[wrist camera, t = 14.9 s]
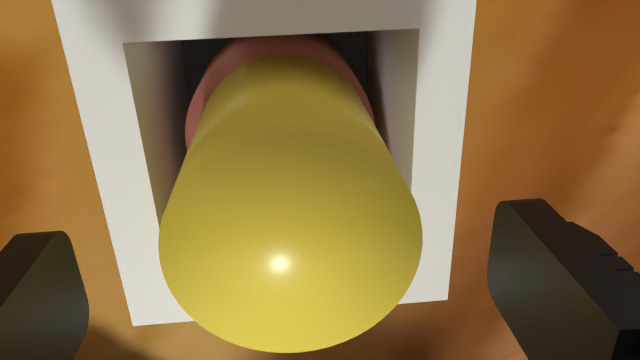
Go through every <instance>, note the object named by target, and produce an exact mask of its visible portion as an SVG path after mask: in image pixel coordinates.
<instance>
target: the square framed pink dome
mask: <svg viewBox="0 0 640 360" xmlns="http://www.w3.org/2000/svg"><path fill="white" fill-rule="evenodd" d="M476 1H477V0H52V4H53V8H54V12H55V16H56V20H57V24H58V28H59V32H60V36H61V40H62V44H63V48H64V52H65V56H66V60H67V64H68V68H69V72H70V76H71V80H72V84H73V88H74V92H75V96H76V100H77V104H78V108H79V112H80V116H81V120H82V124H83V128H84V132H85V136H86V140H87V144H88V148H89V152H90V156H91V160H92V164H93V168H94V172H95V176H96V180H97V184H98V188H99V192H100V196H101V200H102V204H103V208H104V212H105V216H106V220H107V224H108V228H109V232H110V236H111V240H112V244H113V248H114V252H115V256H116V260H117V264H118V268H119V272H120V276H121V280H122V284H123V288H124V292H125V296H126V300H127V304H128V308H129V312H130V316H131V320H132V324H133V326H138V325H150V324H162V323H174V322H186V321H194V320H193V319H192V318H191V317H190V316H189V315H188V314H187V313H186V312H185V311H184V310H183V309H182V307H181V306H180V305H179V304H178V303H177V301H176V299H175V298H174V296H173V295H172V293H171V292H170V290H169V288H168V285H167V283H166V281H165V279H164V276H163V273H162V269H161V266H160V260H159V252H158V241H159V230H160V225H161V220H162V217H163V214H164V212H165V209H166V206H167V203H168V201H169V198H170V196H171V193H172V190H173V188H174V185H175V183H176V180H177V177H178V175H179V172H180V170H181V167H182V164H183V162H184V159H185V156H186V154H187V149H186V142H185V122H186V117H187V112H188V109H189V106H190V103H191V100H192V98H193V96H194V94H195V92H196V89H197V87H198V85H199V83H200V81H201V79H202V77H203V75H204V73H205V71H206V69H207V66H208V64H209V63H210V61H211V59H212V57H213V55H214V54H215V53H216V51H217V50H218V49H219V47H220V46H221V45H222V44H223V43H224V42H225V41H226V40H228V39H229V38H232V37H252V36H273V35H293V34H314V33H320V34H322V35H324V36H325V37H326V38H327V39H329V40H330V41H331V42H332V43H333V44H334V45H335V46H336V47H337V48H338V49H339V51H340V52H341V53H342V55H343V56H344V58H345V59H346V61H347V63H348V64H349V66H350V68H351V70H352V71H353V73H354V75H355V76H356V78H357V80H358V81H359V83H360V85H361V87H362V88H363V90H364V92H365V94H366V96H367V98H368V100H369V103H370V106H371V109H372V112H373V117H374V122H375V127H376V129H377V130H378V132H379V134H380V136H381V138H382V140H383V141H384V143H385V145H386V147H387V149H388V151H389V153H390V154H391V156H392V158H393V160H394V162H395V164H396V166H397V167H398V169H399V171H400V173H401V175H402V177H403V178H404V180H405V182H406V184H407V186H408V188H409V190H410V192H411V194H412V196H413V197H414V199H415V201H416V204H417V207H418V210H419V213H420V218H421V224H422V232H423V245H422V252H421V259H420V262H419V265H418V269H417V272H416V274H415V276H414V279H413V281H412V283H411V285H410V287H409V288H408V290H407V291H406V293H405V295H404V296H403V298H402V299H401V300H400V301H399V303H398V304H403V303H415V302H427V301H439V300H447V299H448V289H449V278H450V268H451V258H452V247H453V237H454V227H455V217H456V206H457V196H458V186H459V175H460V165H461V155H462V145H463V134H464V124H465V114H466V104H467V93H468V83H469V73H470V62H471V52H472V42H473V32H474V21H475V11H476Z"/></svg>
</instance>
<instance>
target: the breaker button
mask: <svg viewBox="0 0 640 360" xmlns="http://www.w3.org/2000/svg"><path fill="white" fill-rule="evenodd" d="M279 54H287V55H298V56H304V57H308V58H311V59H315V60H317V61H319V62H322V63H324V64H326V65H328V66H329V67H331V68H333V69H334V70H336V71H337V72H338V73H339V74H341V75H342V76H343V77H344V78H345V79H346V80H347V81H348V82H349V83H350V84H351V85H352V87H353V88H354V89H355V91H356V92H357V94H358V95H359V97H360V99H361V101H362V103H363V104H364V106H365V108H366V110H367V112H368V114H369V116H370V117H371V119H372V121H373V123H374V125H375V122H374V117H373V112H372V109H371V106H370V103H369V100H368V98H367V96H366V94H365V92H364V90H363V88H362V87H361V85H360V83H359V81H358V80H357V78H356V76H355V75H354V73H353V71H352V70H351V68H350V66H349V64H348V63H347V61H346V59H345V58H344V56H343V55H342V53H341V52H340V51H339V49H338V48H337V47H336V46H335V45H334V44H333V43H332V42H331V41H330V40H329V39H327V38H326V37H325V36H324V35H322V34H320V33H314V34H293V35H273V36H252V37H232V38H229V39H228V40H226V41H225V42H224V43H223V44H222V45H221V46H220V47H219V49H218V50H217V51H216V53H215V54H214V55H213V57H212V59H211V61H210V63H209V64H208V66H207V69H206V71H205V73H204V75H203V77H202V79H201V81H200V83H199V85H198V87H197V89H196V92H195V94H194V96H193V98H192V100H191V103H190V106H189V109H188V112H187V117H186V122H185V142H186V149H187V151H188V149H189V146H190V143H191V141H192V138H193V136H194V133H195V130H196V128H197V125H198V123H199V120H200V117H201V115H202V112H203V109H204V107H205V104H206V102H207V100H208V98H209V96H210V95H211V93H212V92H213V90H214V89H215V88H216V86H217V85H218V84H219V83H220V82H221V81H222V80H223V79H224V78H225V77H226V76H227V75H228V74H229V73H231V72H232V71H233V70H234V69H236V68H238V67H240V66H241V65H243V64H245V63H247V62H249V61H252V60H254V59H257V58H261V57H265V56H270V55H279Z"/></svg>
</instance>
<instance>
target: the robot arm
mask: <svg viewBox="0 0 640 360" xmlns="http://www.w3.org/2000/svg"><path fill="white" fill-rule="evenodd" d="M487 280H488V286H489V291H490V294H491V297H492V299H493V301H494V303H495V305H496V306H497V308H498V310H499V311H500V313H501V315H502V316H503V318H504V320H505V321H506V323H507V325H508V326H509V328H510V330H511V331H512V333H513V335H514V336H515V338H516V340H517V341H518V343H519V345H520V346H521V348H522V350H523V351H524V353H525V355H526V356H527V358H528V360H640V273H639V272H634V269H633V267H632V266H631V265H630V264H629V263H628V262H627V261H626V260H625V259H623V258H622V257H618V253H617V252H616V251H615V250H614V249H613V248H612V247H610V246H609V245H608V244H607V243H606V242H605V241H604V240H603V239H602V238H601V237H600V236H598V235H596V234H594V233H593V232H591V231H589V230H587V229H585V228H583V227H581V226H579V225H577V224H575V223H573V222H567V221H566V220H565V219H564V218H562V217H561V216H560V215H559V214H558V213H557V212H556V211H555V210H554V209H553V208H552V207H551V206H550V205H549V204H548V203H547V202H546V201H545V200H543V199H541V198H536V199H522V200H508V201H501V202H499V203H498V205H497V207H496V210H495V215H494V222H493V230H492V237H491V245H490V252H489V260H488V267H487ZM88 320H89V305H88V299H87V295H86V292H85V288H84V285H83V281H82V278H81V274H80V271H79V268H78V264H77V261H76V257H75V254H74V250H73V247H72V244H71V241H70V238H69V237H68V235H67V234H66V233H65V232H63V231H51V232H36V233H22V234H17V235H15V236H14V237H13V238H12V239H11V240H10V241H9V242H8V243H7V245H6V246H5V247H4V248H3V249H2V250H1V252H0V360H73V359H74V357H75V355H76V352H77V350H78V348H79V346H80V344H81V342H82V340H83V337H84V335H85V333H86V330H87V326H88Z"/></svg>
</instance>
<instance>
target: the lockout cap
mask: <svg viewBox="0 0 640 360" xmlns="http://www.w3.org/2000/svg"><path fill="white" fill-rule="evenodd" d="M422 245H423V232H422V224H421V218H420V213H419V210H418V207H417V204H416V201H415V199H414V197H413V196H412V194H411V192H410V190H409V188H408V186H407V184H406V182H405V180H404V178H403V177H402V175H401V173H400V171H399V169H398V167H397V166H396V164H395V162H394V160H393V158H392V156H391V154H390V153H389V151H388V149H387V147H386V145H385V143H384V141H383V140H382V138H381V136H380V134H379V132H378V130H377V129H376V127H375V125H374V123H373V121H372V119H371V117H370V116H369V114H368V112H367V110H366V108H365V106H364V104H363V103H362V101H361V99H360V97H359V95H358V94H357V92H356V91H355V89H354V88H353V87H352V85H351V84H350V83H349V82H348V81H347V80H346V79H345V78H344V77H343V76H342V75H341V74H339V73H338V72H337V71H336V70H334V69H333V68H331V67H329V66H328V65H326V64H324V63H322V62H319V61H317V60H315V59H311V58H308V57H304V56H298V55H287V54H279V55H270V56H265V57H261V58H257V59H254V60H252V61H249V62H247V63H245V64H243V65H241V66H240V67H238V68H236V69H234V70H233V71H232V72H231V73H229V74H228V75H227V76H226V77H225V78H224V79H223V80H222V81H221V82H220V83H219V84H218V85H217V86H216V88H215V89H214V90H213V92H212V93H211V95H210V96H209V98H208V100H207V102H206V104H205V107H204V109H203V112H202V115H201V117H200V120H199V123H198V125H197V128H196V130H195V133H194V136H193V138H192V141H191V143H190V146H189V149H188V151H187V154H186V156H185V159H184V162H183V164H182V167H181V170H180V172H179V175H178V177H177V180H176V183H175V185H174V188H173V190H172V193H171V196H170V198H169V201H168V203H167V206H166V209H165V212H164V214H163V217H162V220H161V225H160V230H159V241H158V252H159V260H160V266H161V269H162V273H163V276H164V279H165V281H166V283H167V285H168V288H169V290H170V292H171V293H172V295H173V296H174V298H175V299H176V301H177V303H178V304H179V305H180V306H181V307H182V309H183V310H184V311H185V312H186V313H187V314H188V315H189V316H190V317H191V318H192V319H193V320H194V321H196V322H197V323H198V324H199V325H200V326H202V327H203V328H205V329H206V330H208V331H209V332H211V333H212V334H214V335H216V336H218V337H220V338H222V339H224V340H226V341H229V342H231V343H234V344H236V345H239V346H242V347H246V348H250V349H254V350H260V351H266V352H277V353H296V352H306V351H313V350H318V349H323V348H327V347H331V346H334V345H336V344H339V343H342V342H345V341H347V340H349V339H351V338H354V337H356V336H358V335H360V334H361V333H363V332H365V331H366V330H368V329H370V328H371V327H373V326H374V325H375V324H377V323H378V322H379V321H380V320H382V319H383V318H384V317H385V316H386V315H387V314H388V313H389V312H390V311H391V310H392V309H394V307H395V306H396V305H397V304H398V303H399V301H400V300H401V299H402V298H403V296H404V295H405V293H406V291H407V290H408V288H409V287H410V285H411V283H412V281H413V279H414V276H415V274H416V272H417V269H418V265H419V262H420V259H421V252H422Z"/></svg>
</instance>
